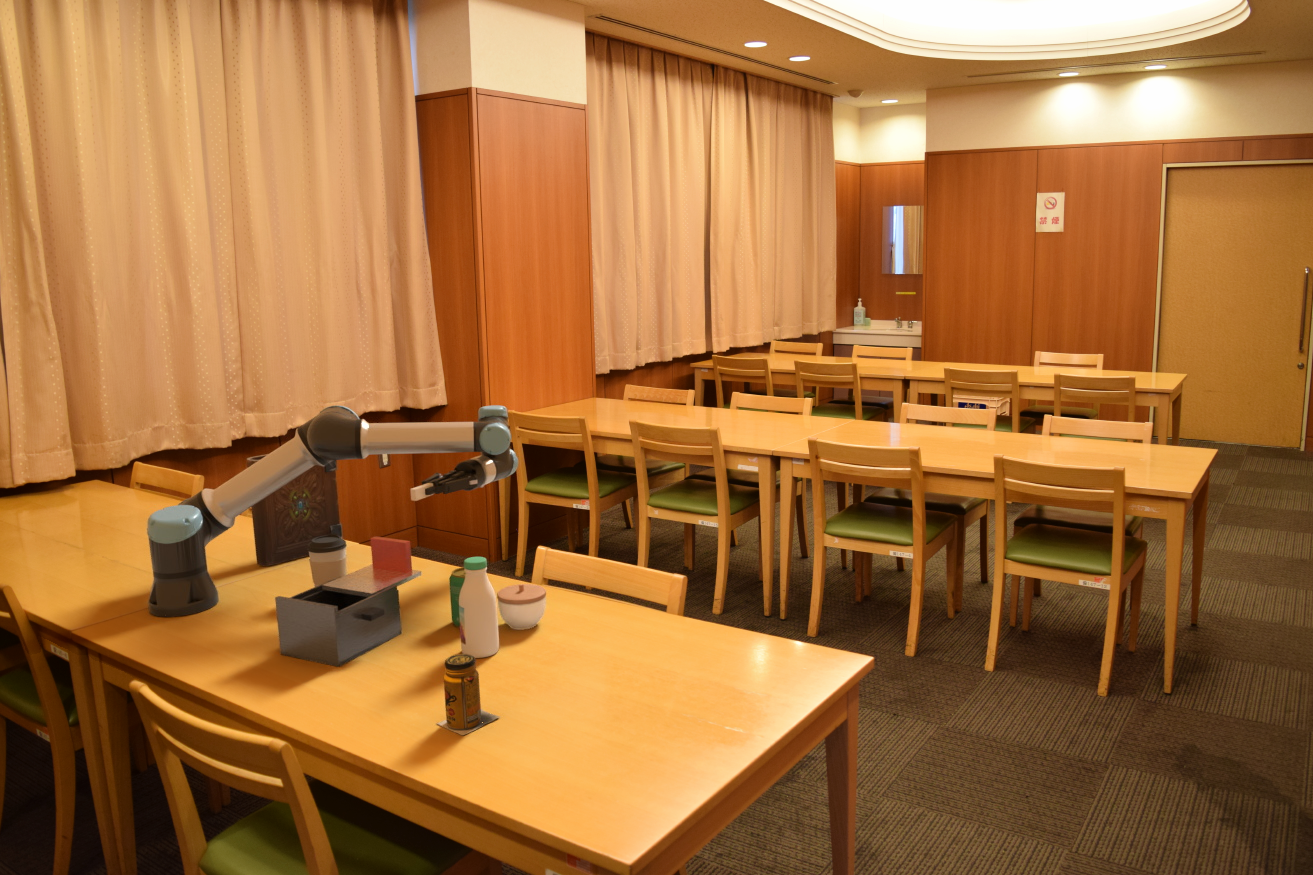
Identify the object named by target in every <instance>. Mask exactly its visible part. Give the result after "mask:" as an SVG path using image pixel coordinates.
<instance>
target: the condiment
mask: <svg viewBox="0 0 1313 875" xmlns="http://www.w3.org/2000/svg"><path fill="white" fill-rule="evenodd" d="M476 661H477V660H476V658H474V656H472V655H468V654H463V653H459V654H453V655H451V656H449V657H447V658H445V660H444V668H445V669H444V675H443V688H444V690H443V691H444V702H445V706H444V707H445V708H444V709H445V716H446V719H444V720H441V721H440V722H437V723H436V724H437V725H438V726H440V727H442V728H445V729H446V730H448V731H451V732H453V733H456V734H459V735H461V736H464V735H467V734H469V733H472V732H473V731H475V730H478V729H480V728H482V727H484V726H485V725H486V724H489V723H491V722H493V721H495V720H496V719H498V718H501V716H499V715H496V714H493V713H491V712H488V711H485V710H484V709H482V706H481V692H480V691H481V690H480V676H479V672H478V670H477V665H476ZM490 713H491V714H490ZM482 722H483V723H482Z"/></svg>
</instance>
